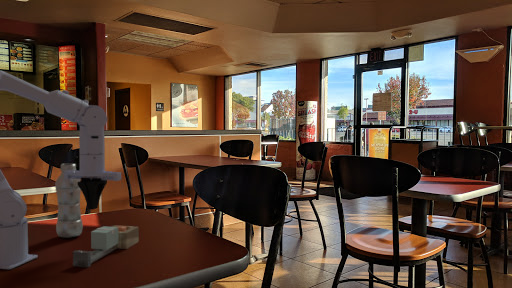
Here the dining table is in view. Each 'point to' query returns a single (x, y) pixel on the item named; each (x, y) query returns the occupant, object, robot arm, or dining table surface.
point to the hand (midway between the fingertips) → (92, 208)
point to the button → (121, 228)
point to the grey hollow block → (128, 237)
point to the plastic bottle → (68, 204)
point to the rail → (89, 256)
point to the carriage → (104, 238)
